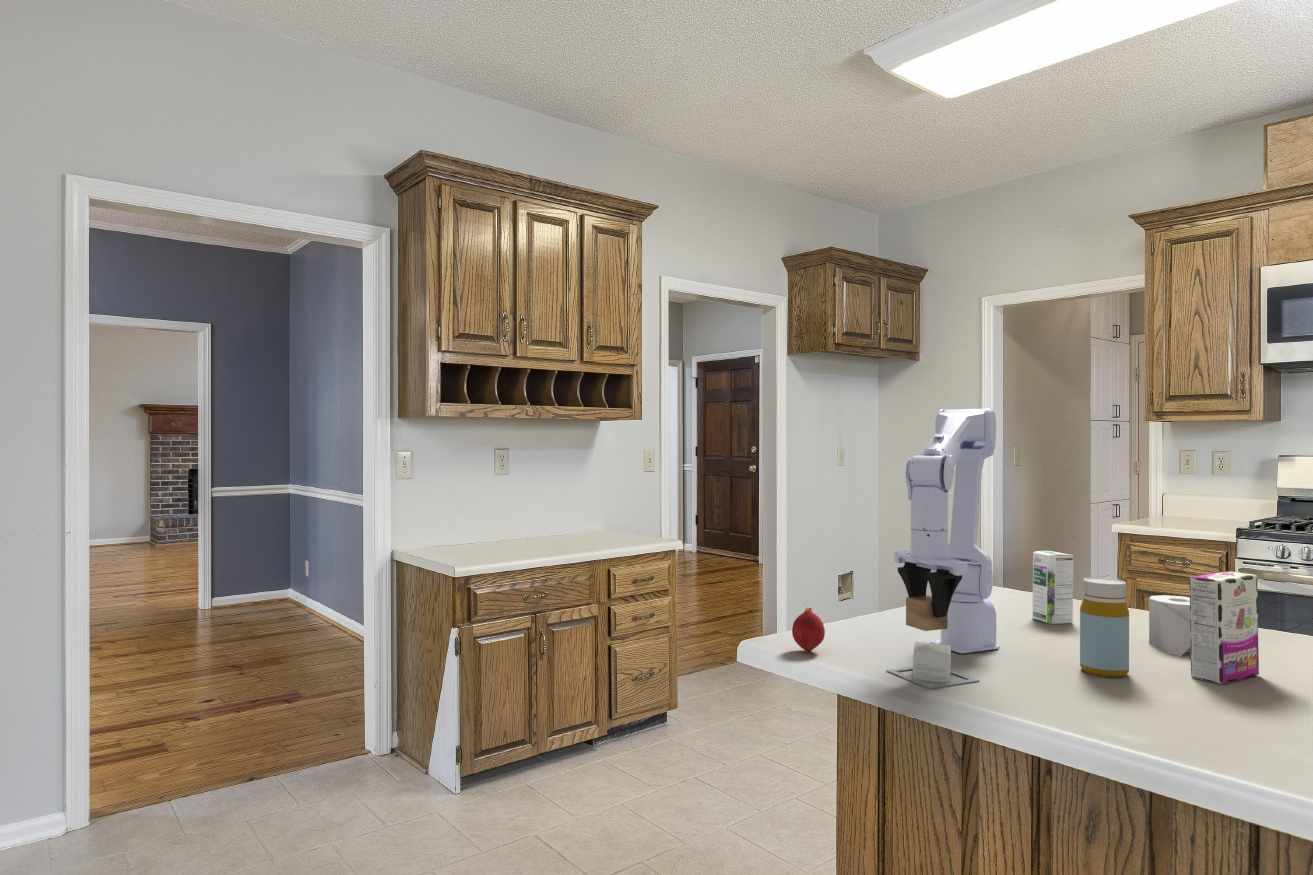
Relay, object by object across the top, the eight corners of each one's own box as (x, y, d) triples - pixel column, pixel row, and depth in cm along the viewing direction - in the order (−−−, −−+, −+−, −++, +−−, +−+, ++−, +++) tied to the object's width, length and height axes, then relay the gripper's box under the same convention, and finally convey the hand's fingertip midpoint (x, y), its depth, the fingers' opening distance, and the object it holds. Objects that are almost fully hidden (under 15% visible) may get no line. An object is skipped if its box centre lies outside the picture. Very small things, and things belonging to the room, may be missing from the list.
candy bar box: (1225, 667, 131) (1226, 570, 131) (1260, 675, 127) (1260, 574, 127) (1187, 676, 126) (1187, 575, 126) (1221, 685, 122) (1221, 580, 122)
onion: (824, 657, 137) (825, 611, 137) (791, 655, 138) (791, 609, 138) (824, 648, 143) (824, 604, 143) (792, 646, 144) (792, 603, 144)
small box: (950, 684, 122) (951, 652, 122) (912, 680, 124) (912, 649, 124) (950, 674, 127) (950, 644, 127) (913, 670, 129) (914, 640, 130)
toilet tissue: (1180, 658, 137) (1180, 609, 137) (1139, 639, 151) (1139, 594, 151) (1234, 659, 137) (1235, 610, 137) (1188, 640, 150) (1188, 595, 150)
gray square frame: (933, 664, 132) (933, 663, 132) (979, 681, 123) (979, 680, 123) (886, 671, 128) (886, 670, 128) (929, 689, 119) (929, 687, 119)
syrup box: (1031, 618, 168) (1031, 550, 168) (1054, 617, 169) (1054, 550, 169) (1050, 624, 162) (1050, 554, 162) (1074, 623, 164) (1074, 553, 164)
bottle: (1123, 668, 131) (1123, 578, 131) (1133, 680, 124) (1133, 585, 124) (1076, 664, 133) (1076, 576, 133) (1084, 676, 126) (1084, 583, 126)
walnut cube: (927, 622, 129) (927, 595, 129) (947, 628, 125) (947, 600, 125) (905, 624, 128) (905, 597, 128) (925, 631, 123) (925, 602, 123)
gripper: (880, 525, 132) (879, 606, 132) (942, 535, 118) (942, 624, 118) (913, 524, 135) (913, 603, 134) (977, 533, 121) (977, 621, 121)
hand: (928, 613), depth 127 cm, fingers closed on walnut cube, 4 cm apart
